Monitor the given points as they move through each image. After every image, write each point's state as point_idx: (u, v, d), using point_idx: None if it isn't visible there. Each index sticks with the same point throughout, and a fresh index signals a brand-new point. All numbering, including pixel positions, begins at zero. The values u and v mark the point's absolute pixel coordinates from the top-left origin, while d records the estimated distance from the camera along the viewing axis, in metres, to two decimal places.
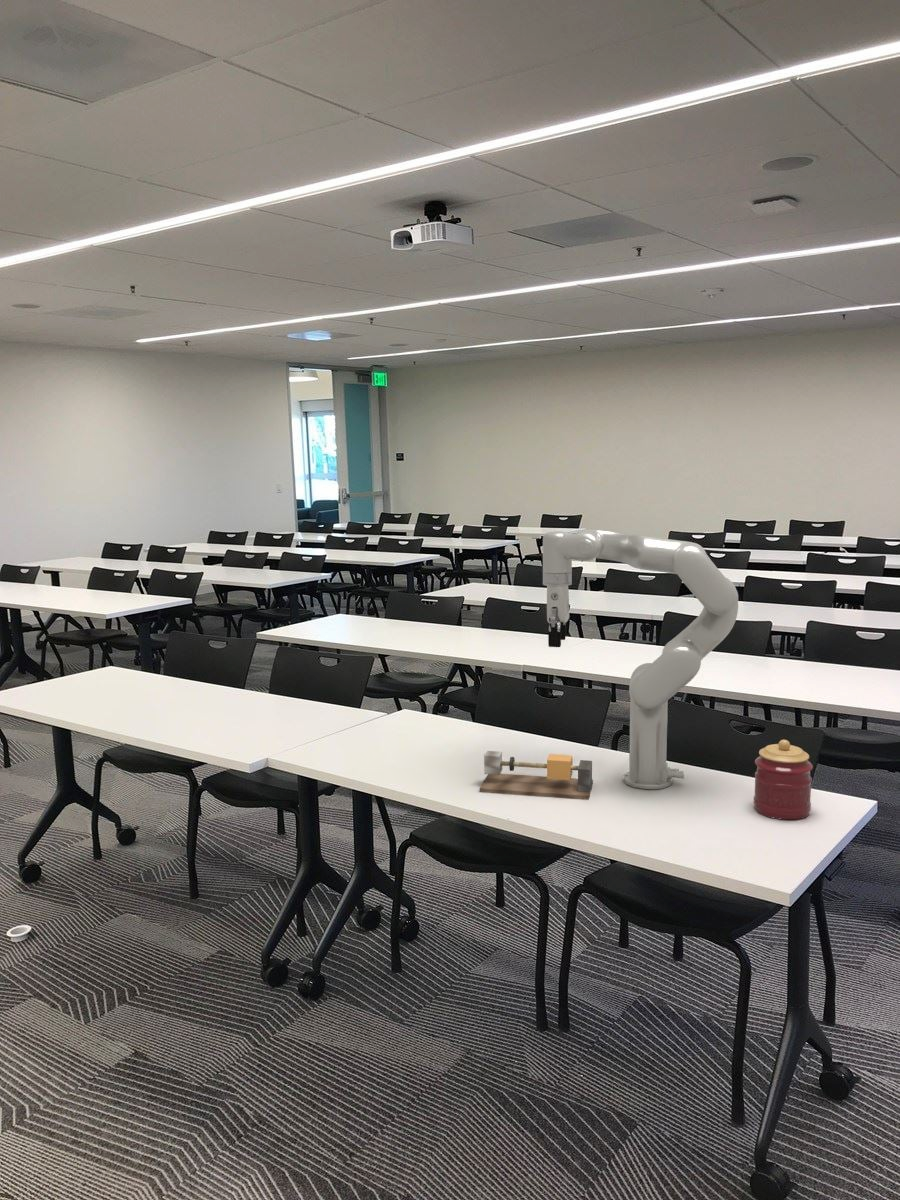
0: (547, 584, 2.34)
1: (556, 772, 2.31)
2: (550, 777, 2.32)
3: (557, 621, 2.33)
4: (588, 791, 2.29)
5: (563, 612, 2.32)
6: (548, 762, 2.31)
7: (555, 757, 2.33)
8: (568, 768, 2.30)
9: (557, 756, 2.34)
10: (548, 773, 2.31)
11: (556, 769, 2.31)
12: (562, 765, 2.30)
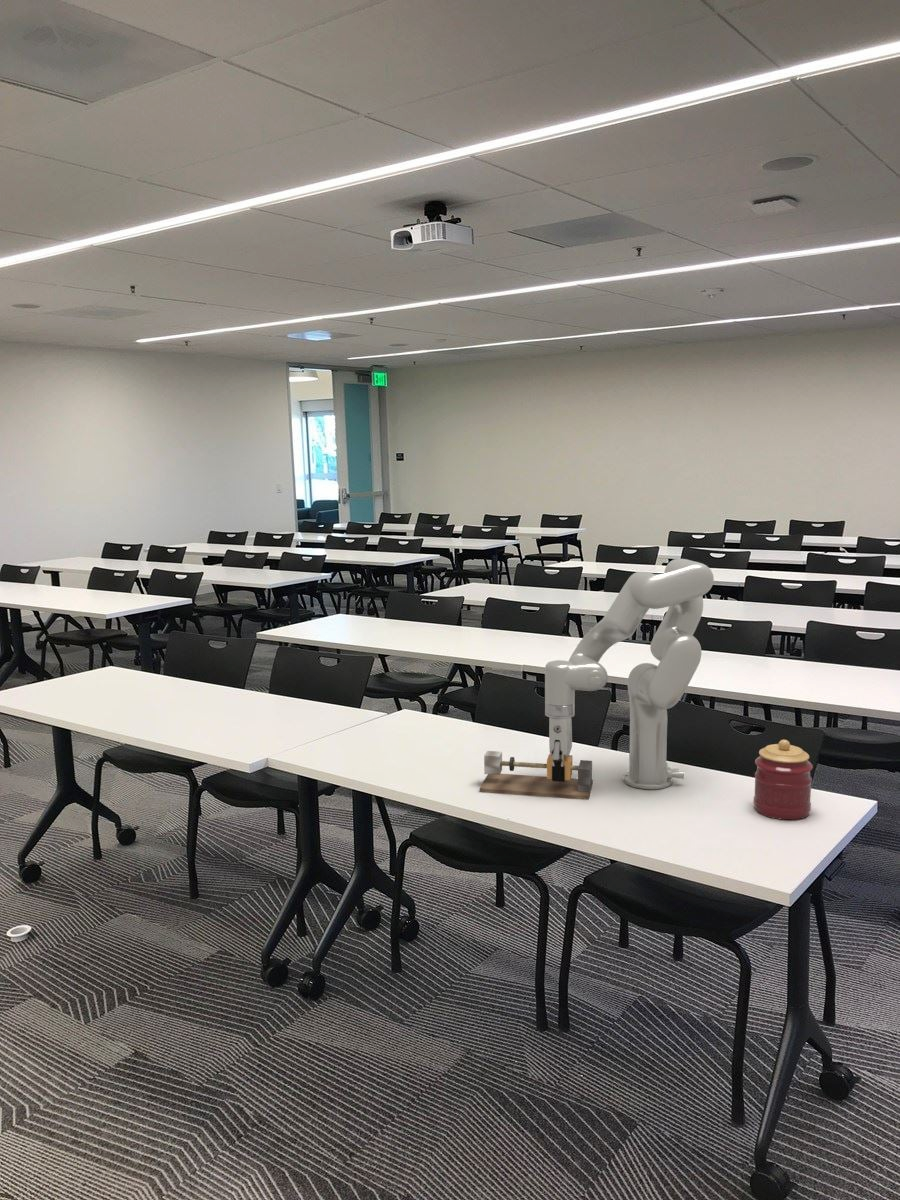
0: (549, 716, 2.29)
1: None
2: (550, 777, 2.32)
3: (560, 756, 2.29)
4: (588, 791, 2.29)
5: (566, 745, 2.27)
6: (548, 762, 2.31)
7: None
8: (568, 768, 2.30)
9: None
10: (548, 773, 2.31)
11: None
12: None
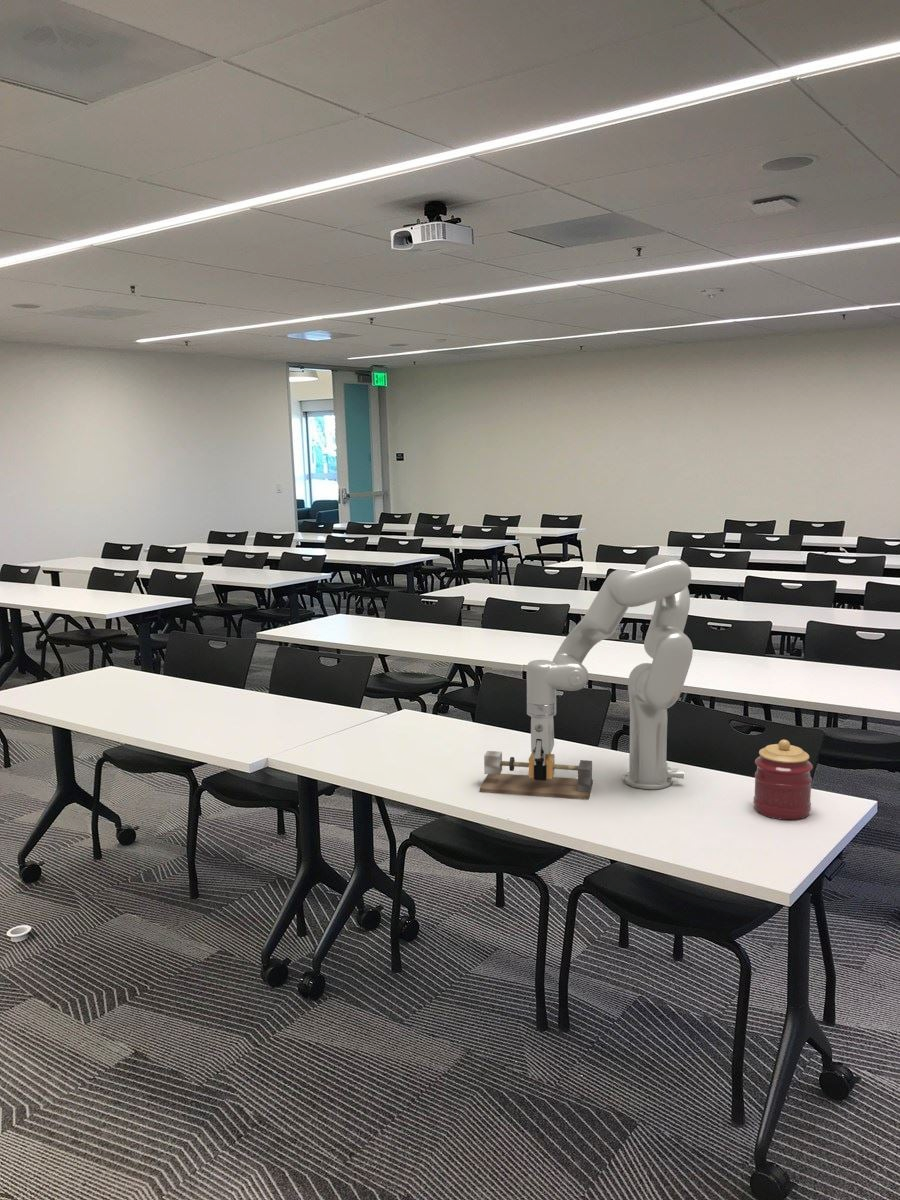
0: (531, 715, 2.30)
1: None
2: (532, 776, 2.33)
3: (542, 755, 2.30)
4: (588, 791, 2.29)
5: (547, 744, 2.28)
6: (530, 761, 2.32)
7: None
8: (550, 767, 2.31)
9: None
10: (530, 772, 2.33)
11: None
12: None
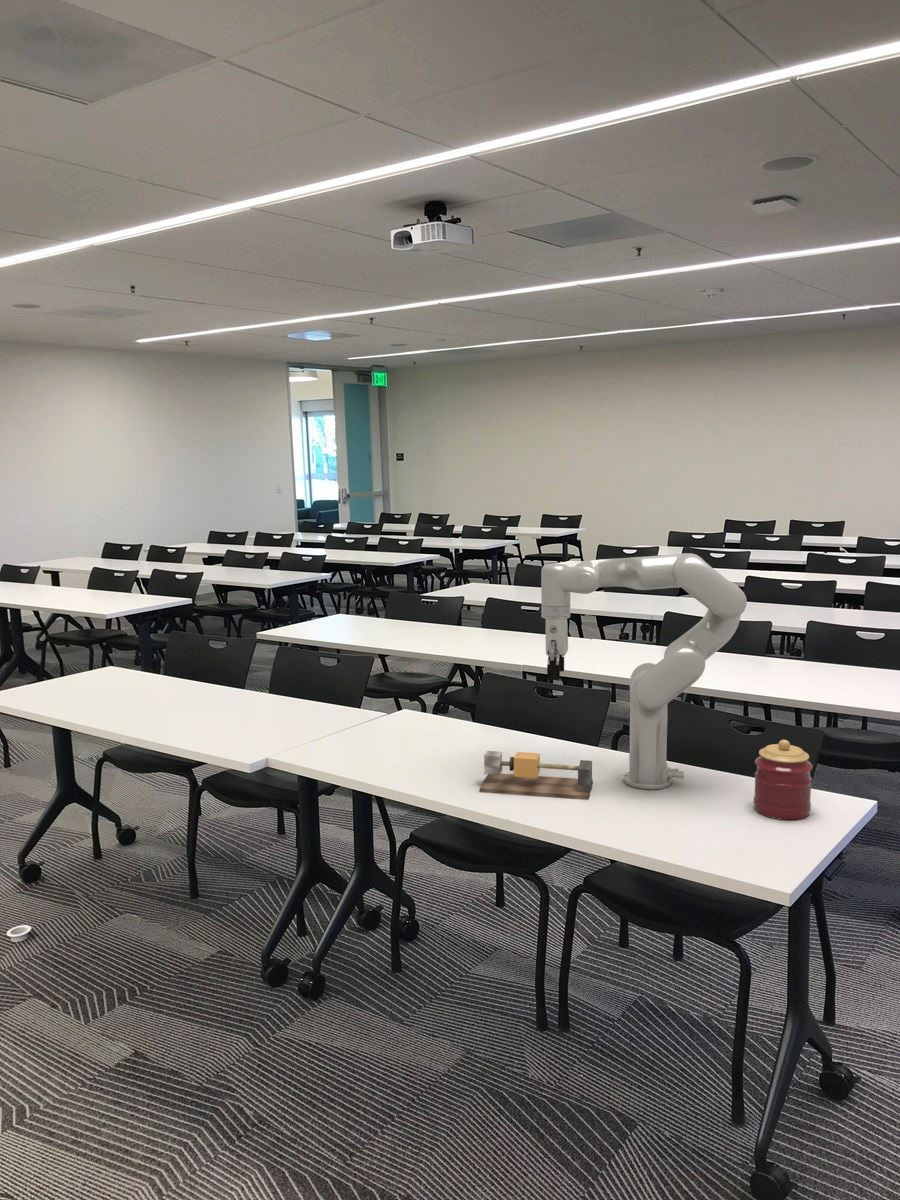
0: (546, 617, 2.33)
1: (523, 770, 2.33)
2: (517, 775, 2.34)
3: (556, 654, 2.32)
4: (588, 791, 2.29)
5: (562, 645, 2.31)
6: (515, 760, 2.33)
7: (522, 755, 2.35)
8: (535, 766, 2.32)
9: (524, 754, 2.36)
10: (515, 771, 2.34)
11: (523, 767, 2.33)
12: (529, 763, 2.32)
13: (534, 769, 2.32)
